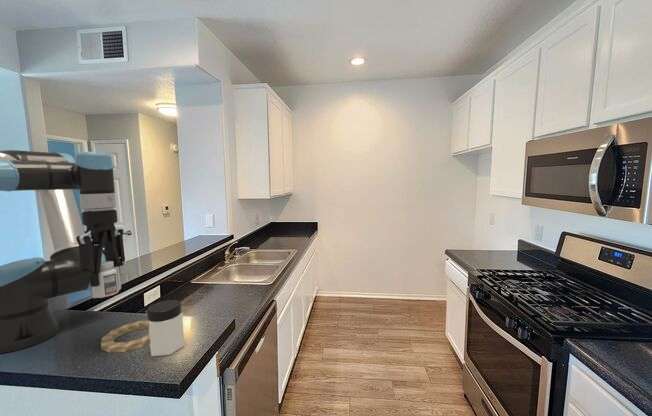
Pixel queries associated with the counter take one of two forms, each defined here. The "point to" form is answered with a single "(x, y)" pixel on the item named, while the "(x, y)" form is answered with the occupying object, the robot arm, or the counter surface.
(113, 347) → the bead ring
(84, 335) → the counter surface
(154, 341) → the jar
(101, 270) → the pill bottle
